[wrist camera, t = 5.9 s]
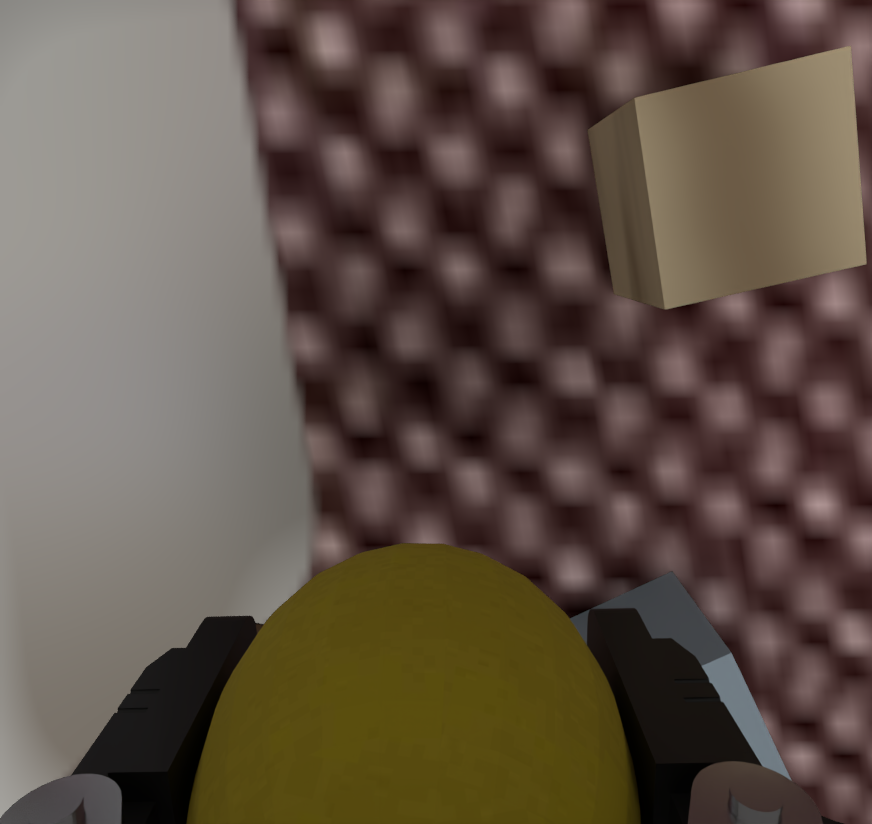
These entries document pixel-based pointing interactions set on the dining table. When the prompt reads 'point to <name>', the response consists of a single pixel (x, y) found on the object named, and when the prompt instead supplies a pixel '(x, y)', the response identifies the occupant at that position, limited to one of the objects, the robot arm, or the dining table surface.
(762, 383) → the dining table surface
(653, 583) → the block slate
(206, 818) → the lemon
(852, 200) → the block oak
